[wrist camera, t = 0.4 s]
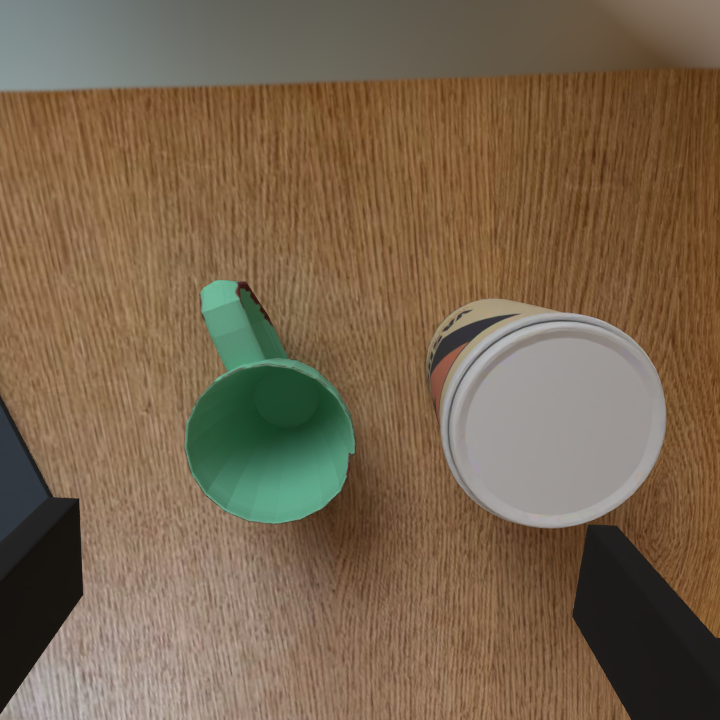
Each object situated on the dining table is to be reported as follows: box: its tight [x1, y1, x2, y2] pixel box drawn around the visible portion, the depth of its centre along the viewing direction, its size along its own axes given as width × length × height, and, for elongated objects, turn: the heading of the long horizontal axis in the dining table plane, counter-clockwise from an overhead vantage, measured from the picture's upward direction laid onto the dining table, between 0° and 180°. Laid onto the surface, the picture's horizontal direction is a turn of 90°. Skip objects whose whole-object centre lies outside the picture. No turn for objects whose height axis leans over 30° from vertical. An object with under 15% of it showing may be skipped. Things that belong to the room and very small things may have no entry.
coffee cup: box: [426, 299, 666, 528], centre depth 30 cm, size 9×9×12 cm
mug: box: [185, 280, 356, 524], centre depth 32 cm, size 12×8×8 cm, turn 19°
